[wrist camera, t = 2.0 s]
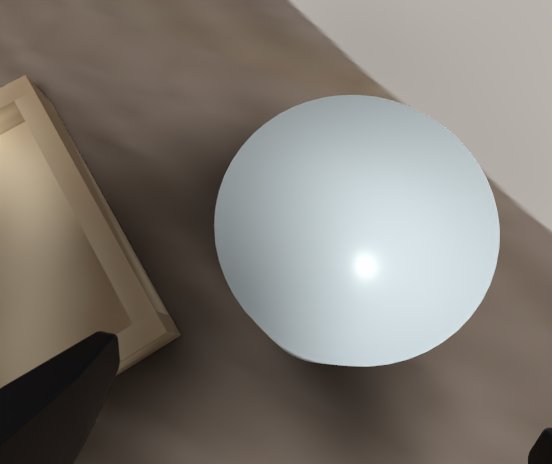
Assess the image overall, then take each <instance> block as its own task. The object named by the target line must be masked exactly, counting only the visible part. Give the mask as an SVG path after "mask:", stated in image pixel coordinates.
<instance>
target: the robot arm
mask: <svg viewBox="0 0 552 464" xmlns="http://www.w3.org/2000/svg"><path fill="white" fill-rule="evenodd" d="M119 365H120V355H119V342H118V337H117V335H116V334H113V333H108V332H104V331H98V332H95V333H93V334H91V335H90V336H88V337H86V338H85V339H83V340H81V341H80V342H78V343H76V344H74V345H73V346H71V347H69V348H68V349H66V350H64V351H63V352H61V353H59V354H57V355H56V356H54V357H52V358H51V359H49V360H47V361H45V362H44V363H42V364H40V365H39V366H37V367H35V368H34V369H32V370H30V371H28V372H27V373H25V374H23V375H22V376H20V377H18V378H16V379H15V380H13V381H11V382H10V383H8V384H6V385H5V386H3V387H1V388H0V464H73V463H74V461H75V459H76V458H77V456H78V454H79V452H80V451H81V449H82V447H83V445H84V444H85V442H86V440H87V438H88V436H89V434H90V432H91V430H92V428H93V426H94V423H95V421H96V419H97V417H98V415H99V412H100V410H101V408H102V406H103V403H104V401H105V399H106V397H107V394H108V392H109V390H110V388H111V386H112V383H113V381H114V379H115V377H116V374H117V372H118V369H119ZM528 464H552V428H546V429H544V430H543V432H542V433H541V435H540V436H539V438H538V439H537V441H536V442H535V444H534V446H533V447H532V449H531V450H530V452H529V456H528Z"/></svg>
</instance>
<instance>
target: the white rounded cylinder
mask: <svg viewBox="0 0 552 464" xmlns="http://www.w3.org/2000/svg"><path fill="white" fill-rule="evenodd" d="M214 232H215V245H216V249H217V254H218V259H219V263H220V266H221V268H222V271H223V274H224V277H225V279H226V281H227V283H228V285H229V287H230V289H231V291H232V293H233V295H234V296H235V298H236V299H237V301H238V302H239V304H240V305H241V306H242V308H243V309H244V311H245V312H246V313H247V314H248V315H249V316H250V317H251V318H252V319H253V320H254V322H255V323H256V324H257V325H258V326H259V327H260V328H261V329H262V330H263V331H264V332H265V333H266V334H267V335H268V336H269V337H270V338H271V339H272V340H273V341H274V342H275V343H276V344H277V345H278V346H279V347H280V348H282V349H283V350H284V351H285V352H287V353H288V354H290V355H292V356H294V357H296V358H298V359H301V360H304V361H307V362H313V363H321V364H332V365H342V366H365V367H369V366H378V365H387V364H392V363H396V362H400V361H404V360H408V359H410V358H413V357H415V356H418V355H420V354H423V353H425V352H427V351H429V350H431V349H432V348H434V347H436V346H437V345H439V344H441V343H442V342H444V341H445V340H446V339H448V338H449V337H450V336H451V335H453V334H454V333H455V332H456V331H458V330H459V329H460V328H461V327H462V326H463V325H464V323H465V322H466V321H467V320H468V319H469V318H470V317H471V316H472V315H473V313H474V312H475V310H476V309H477V307H478V306H479V304H480V303H481V301H482V300H483V298H484V296H485V294H486V292H487V290H488V288H489V286H490V284H491V281H492V277H493V274H494V271H495V268H496V264H497V258H498V252H499V237H500V229H499V220H498V212H497V208H496V204H495V200H494V196H493V193H492V191H491V188H490V186H489V183H488V181H487V178H486V176H485V175H484V173H483V171H482V169H481V167H480V166H479V164H478V162H477V161H476V160H475V158H474V157H473V155H472V154H471V153H470V151H469V150H468V149H467V148H466V147H465V145H464V144H462V142H461V141H460V140H459V139H458V138H457V137H456V136H455V135H454V134H453V133H451V132H450V131H449V130H448V129H447V128H445V127H444V126H443V125H442V124H440V123H439V122H437V121H436V120H434V119H432V118H431V117H429V116H428V115H426V114H424V113H422V112H420V111H418V110H416V109H414V108H412V107H410V106H407V105H404V104H401V103H398V102H396V101H392V100H388V99H383V98H379V97H372V96H364V95H340V96H331V97H324V98H320V99H316V100H312V101H308V102H305V103H303V104H300V105H297V106H294V107H292V108H290V109H288V110H286V111H284V112H282V113H280V114H279V115H277V116H276V117H274V118H273V119H271V120H270V121H268V122H267V123H265V124H264V125H263V126H262V127H261V128H259V129H258V130H257V131H256V132H255V133H254V134H252V136H251V137H250V138H249V139H248V140H247V141H246V142H245V143H244V145H243V146H242V147H241V148H240V150H239V151H238V153H237V154H236V155H235V157H234V158H233V160H232V161H231V163H230V165H229V167H228V169H227V171H226V173H225V175H224V178H223V181H222V184H221V187H220V189H219V193H218V197H217V202H216V207H215V220H214Z"/></svg>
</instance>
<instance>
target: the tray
mask: <svg viewBox="0 0 552 464" xmlns="http://www.w3.org/2000/svg"><path fill="white" fill-rule="evenodd" d="M98 331H104V332H108V333H113V334H116V335H117V337H118V342H119V355H120V365H119V369H118V372H117V374H116V376H117V375H119V374H120V373H122V372H124V371H125V370H127V369H128V368H130V367H132V366H133V365H135V364H136V363H138V362H139V361H141V360H143V359H144V358H146V357H147V356H149V355H150V354H152V353H154V352H155V351H157V350H158V349H160V348H162V347H163V346H165V345H166V344H168V343H169V342H171V341H173V340H174V339H176V338H177V337H179V336H181V335H180V333H179V331H178V329H177V327H176V326H175V324H174V322H173V320H172V318H171V317H170V315H169V313H168V311H167V309H166V308H165V306H164V304H163V302H162V300H161V299H160V297H159V295H158V293H157V292H156V290H155V288H154V286H153V284H152V283H151V281H150V279H149V277H148V275H147V274H146V272H145V270H144V268H143V266H142V265H141V263H140V261H139V259H138V257H137V256H136V254H135V252H134V250H133V248H132V247H131V245H130V243H129V241H128V240H127V238H126V236H125V234H124V232H123V231H122V229H121V227H120V225H119V223H118V222H117V220H116V218H115V216H114V214H113V213H112V211H111V209H110V207H109V205H108V204H107V202H106V200H105V198H104V196H103V195H102V193H101V191H100V189H99V187H98V186H97V184H96V182H95V180H94V179H93V177H92V175H91V173H90V171H89V170H88V168H87V166H86V164H85V162H84V161H83V159H82V157H81V155H80V153H79V152H78V150H77V148H76V146H75V144H74V143H73V141H72V139H71V137H70V135H69V134H68V132H67V130H66V128H65V126H64V125H63V123H62V121H61V119H60V118H59V116H58V114H57V112H56V110H55V109H54V107H53V105H52V103H51V102H50V100H49V99H48V98H47V97H46V96H45V95H44V94H43V93H42V92H41V91H40V90H39V89H38V88H37V87H36V85H35V84H34V83H33V82H32V81H31V80H30V79H29V78H28V77H27V76H26V75H24V76H22V77H20V78H18V79H17V80H15V81H13V82H11V83H9V84H7V85H5V86H3V87H1V88H0V388H1V387H3V386H5V385H6V384H8V383H10V382H11V381H13V380H15V379H16V378H18V377H20V376H22V375H23V374H25V373H27V372H28V371H30V370H32V369H34V368H35V367H37V366H39V365H40V364H42V363H44V362H45V361H47V360H49V359H51V358H52V357H54V356H56V355H57V354H59V353H61V352H63V351H64V350H66V349H68V348H69V347H71V346H73V345H74V344H76V343H78V342H80V341H81V340H83V339H85V338H86V337H88V336H90V335H91V334H93V333H95V332H98Z"/></svg>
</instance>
